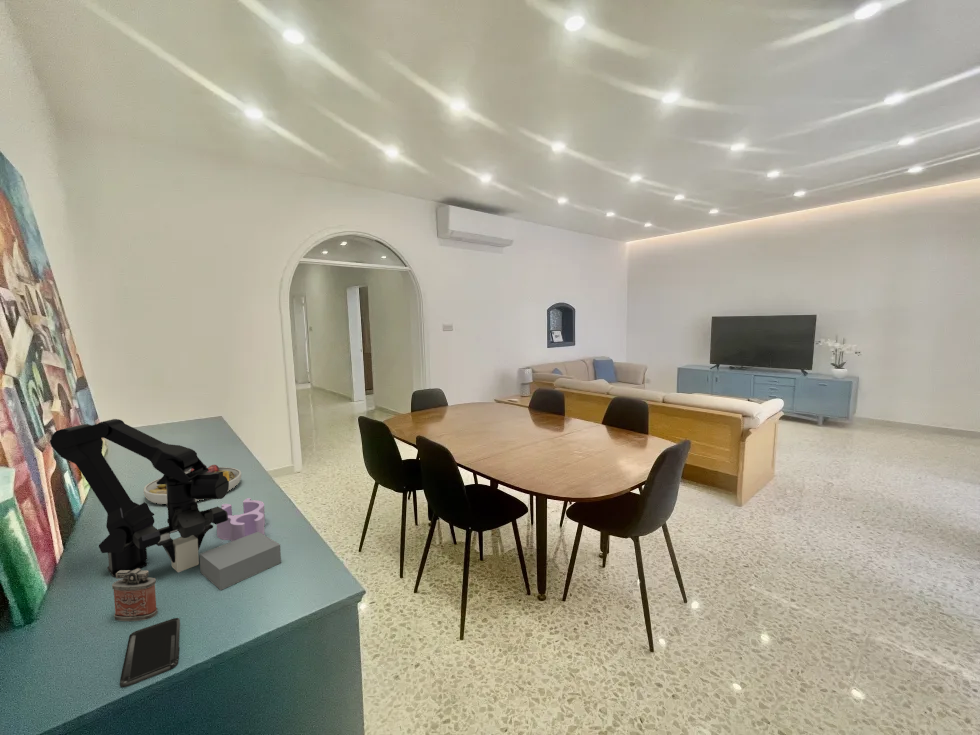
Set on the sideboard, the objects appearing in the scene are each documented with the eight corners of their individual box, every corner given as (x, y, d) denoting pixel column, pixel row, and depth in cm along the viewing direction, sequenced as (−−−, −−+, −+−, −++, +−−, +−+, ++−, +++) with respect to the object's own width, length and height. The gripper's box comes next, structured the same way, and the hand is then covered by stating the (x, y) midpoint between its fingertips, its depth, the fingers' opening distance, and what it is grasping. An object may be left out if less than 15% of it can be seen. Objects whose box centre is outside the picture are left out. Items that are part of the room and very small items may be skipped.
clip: (275, 538, 117) (274, 515, 117) (225, 554, 109) (224, 529, 109) (258, 516, 132) (257, 496, 132) (213, 528, 124) (212, 506, 123)
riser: (220, 590, 93) (219, 569, 93) (200, 572, 100) (199, 553, 100) (280, 562, 104) (280, 544, 104) (259, 548, 111) (258, 531, 111)
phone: (118, 685, 67) (130, 632, 79) (119, 691, 67) (130, 638, 79) (178, 662, 71) (180, 615, 83) (178, 668, 71) (180, 621, 83)
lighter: (162, 609, 86) (159, 565, 86) (149, 620, 83) (146, 574, 82) (123, 610, 86) (120, 566, 85) (109, 621, 83) (106, 575, 82)
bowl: (241, 497, 149) (240, 476, 148) (135, 515, 133) (134, 492, 132) (241, 474, 174) (240, 456, 173) (152, 487, 158) (151, 468, 157)
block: (177, 572, 100) (176, 545, 100) (171, 566, 103) (170, 540, 102) (198, 564, 104) (197, 538, 103) (192, 558, 106) (190, 533, 106)
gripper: (144, 521, 90) (148, 587, 91) (235, 494, 105) (238, 551, 106) (130, 508, 96) (134, 571, 97) (217, 485, 111) (220, 539, 112)
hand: (184, 557), depth 103 cm, fingers closed on block, 4 cm apart
